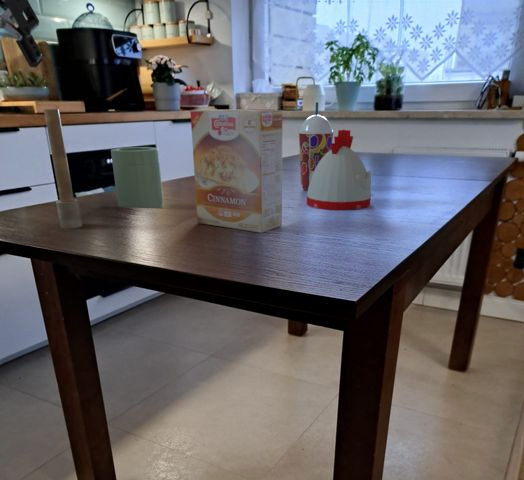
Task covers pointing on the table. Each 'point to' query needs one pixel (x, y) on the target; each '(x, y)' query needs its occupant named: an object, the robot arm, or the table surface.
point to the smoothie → (313, 144)
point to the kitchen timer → (340, 178)
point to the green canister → (137, 177)
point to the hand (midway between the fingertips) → (12, 63)
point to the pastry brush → (62, 173)
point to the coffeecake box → (238, 168)
